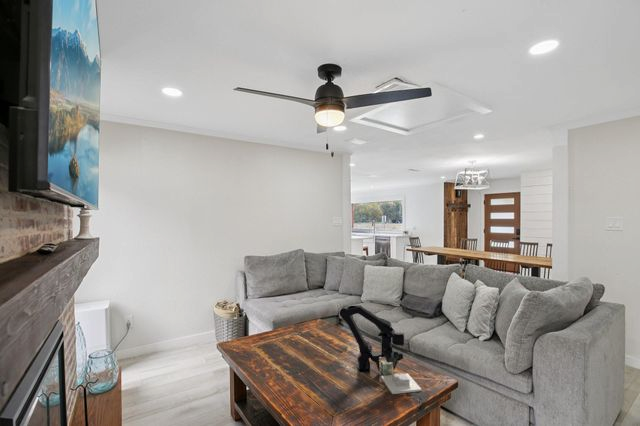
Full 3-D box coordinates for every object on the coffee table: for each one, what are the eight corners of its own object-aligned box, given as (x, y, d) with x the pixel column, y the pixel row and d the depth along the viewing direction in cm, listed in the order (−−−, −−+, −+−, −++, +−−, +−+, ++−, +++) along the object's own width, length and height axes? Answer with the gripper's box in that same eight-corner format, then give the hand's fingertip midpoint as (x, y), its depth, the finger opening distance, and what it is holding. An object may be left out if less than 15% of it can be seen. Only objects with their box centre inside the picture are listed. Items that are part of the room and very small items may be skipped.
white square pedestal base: (392, 394, 162) (392, 386, 162) (381, 377, 178) (381, 370, 178) (421, 390, 165) (421, 383, 165) (407, 375, 181) (407, 368, 181)
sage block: (383, 375, 181) (383, 364, 181) (380, 370, 186) (380, 360, 186) (392, 374, 182) (392, 364, 182) (388, 370, 187) (388, 359, 187)
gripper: (375, 351, 174) (375, 379, 174) (407, 348, 177) (407, 376, 177) (369, 342, 185) (369, 369, 185) (399, 340, 188) (399, 366, 188)
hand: (386, 370), depth 184 cm, fingers open, 9 cm apart
